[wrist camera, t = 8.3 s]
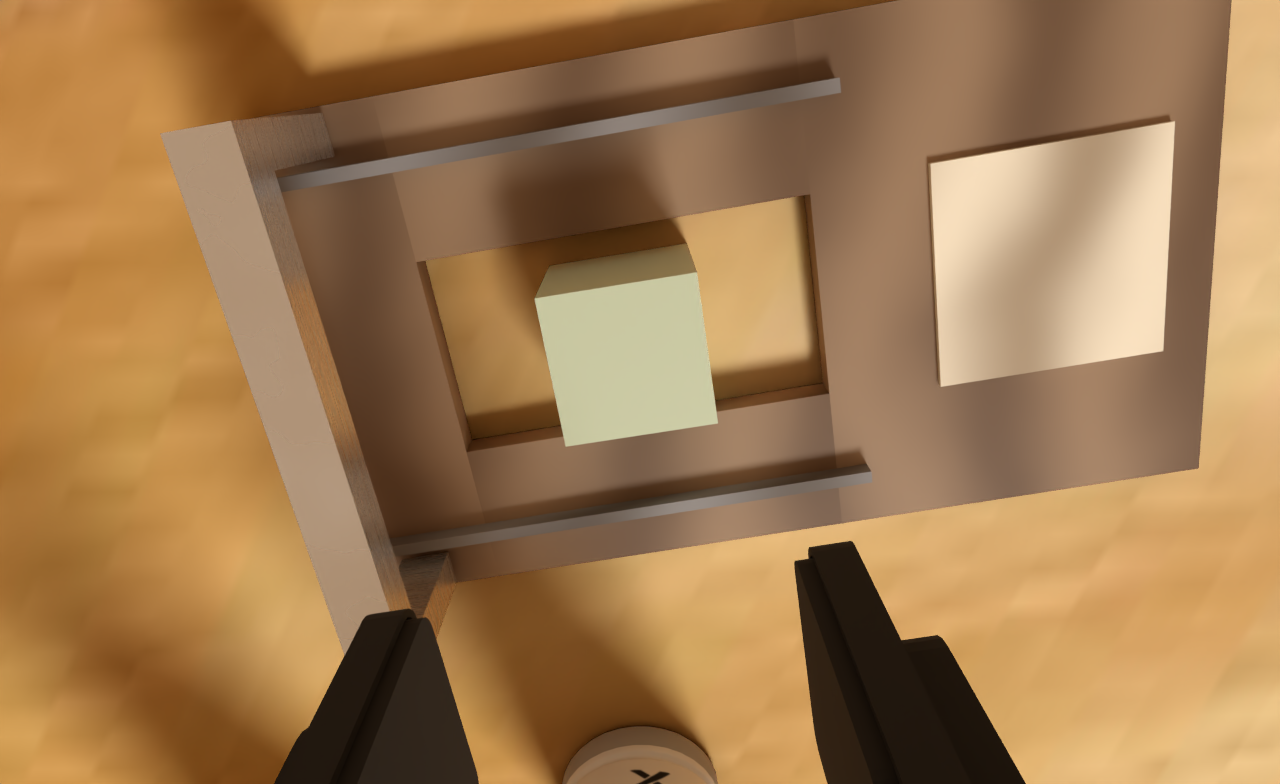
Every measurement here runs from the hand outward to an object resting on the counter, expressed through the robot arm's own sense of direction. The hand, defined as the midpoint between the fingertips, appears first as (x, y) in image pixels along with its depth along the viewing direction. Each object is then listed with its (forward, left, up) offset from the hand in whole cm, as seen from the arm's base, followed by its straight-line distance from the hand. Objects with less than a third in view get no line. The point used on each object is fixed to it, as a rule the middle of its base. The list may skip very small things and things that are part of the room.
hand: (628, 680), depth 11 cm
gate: (+8, 0, -16) cm, 18 cm away
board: (-4, 0, -17) cm, 18 cm away
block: (0, 0, -17) cm, 17 cm away
